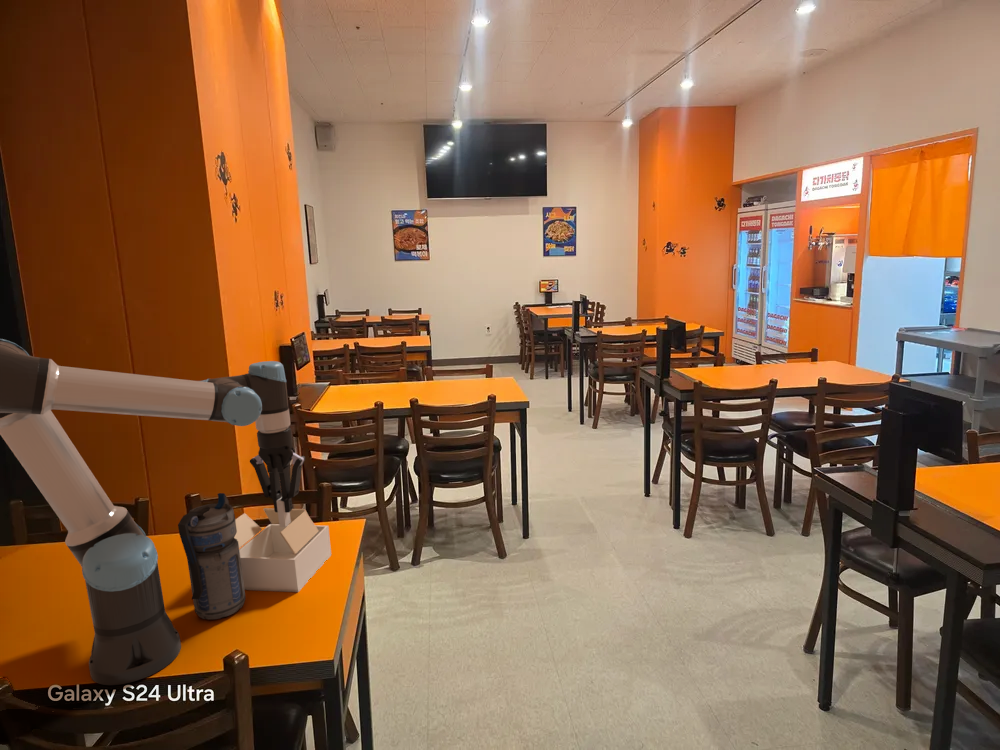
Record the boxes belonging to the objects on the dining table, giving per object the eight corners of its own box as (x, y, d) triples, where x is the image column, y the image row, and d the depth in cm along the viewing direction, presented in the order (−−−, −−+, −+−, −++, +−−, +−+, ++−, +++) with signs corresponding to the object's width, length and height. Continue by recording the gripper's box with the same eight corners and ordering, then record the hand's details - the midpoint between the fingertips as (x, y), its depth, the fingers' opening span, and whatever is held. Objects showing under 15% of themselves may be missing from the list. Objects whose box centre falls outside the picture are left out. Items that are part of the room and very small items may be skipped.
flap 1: (304, 510, 153) (305, 509, 153) (263, 509, 155) (263, 508, 155) (312, 524, 157) (312, 523, 157) (271, 523, 158) (272, 522, 159)
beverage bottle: (176, 626, 129) (158, 513, 125) (220, 593, 142) (206, 490, 137) (216, 632, 127) (200, 517, 122) (258, 597, 139) (244, 492, 135)
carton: (298, 592, 141) (292, 539, 138) (217, 588, 144) (210, 536, 142) (331, 555, 158) (326, 507, 156) (259, 552, 162) (253, 505, 159)
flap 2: (294, 554, 141) (295, 553, 141) (279, 532, 140) (280, 532, 140) (317, 531, 152) (318, 530, 152) (304, 511, 152) (305, 510, 152)
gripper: (307, 424, 145) (317, 518, 149) (256, 424, 147) (267, 517, 151) (292, 433, 138) (303, 532, 142) (238, 433, 140) (251, 530, 144)
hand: (285, 524), depth 147 cm, fingers closed
